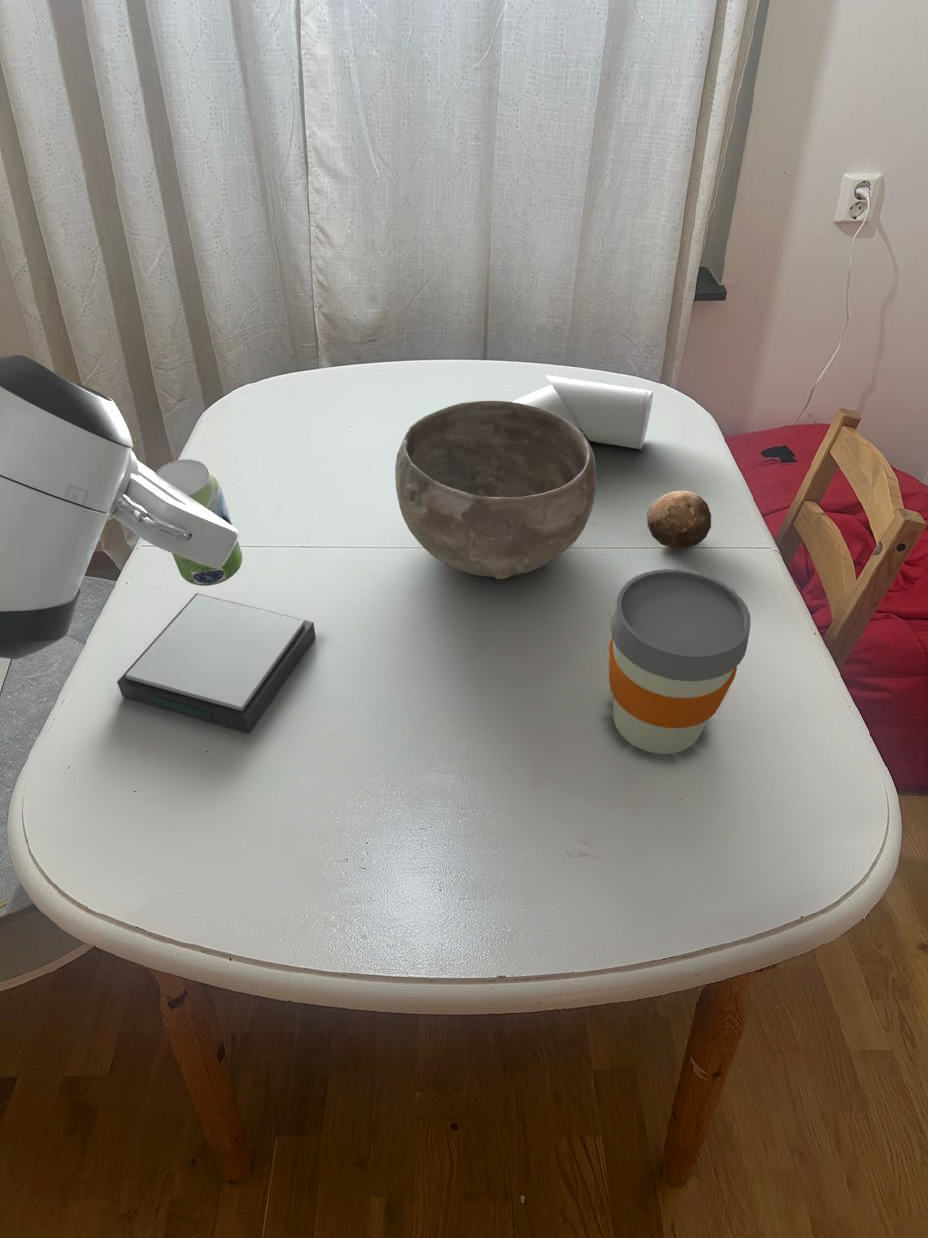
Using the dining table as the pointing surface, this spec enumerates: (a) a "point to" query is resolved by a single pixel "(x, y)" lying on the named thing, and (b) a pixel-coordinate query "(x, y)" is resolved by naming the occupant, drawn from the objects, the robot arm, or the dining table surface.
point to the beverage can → (209, 494)
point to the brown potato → (679, 519)
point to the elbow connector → (597, 409)
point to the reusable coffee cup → (673, 656)
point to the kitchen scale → (219, 662)
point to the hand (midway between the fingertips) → (208, 520)
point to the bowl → (495, 486)
